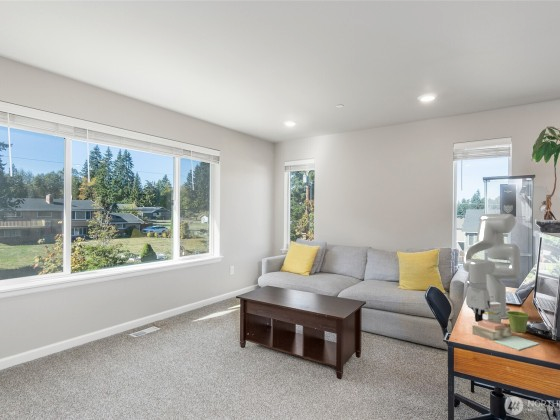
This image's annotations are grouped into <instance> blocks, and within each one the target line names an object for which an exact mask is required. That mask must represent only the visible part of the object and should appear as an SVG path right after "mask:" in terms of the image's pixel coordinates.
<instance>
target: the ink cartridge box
mask: <svg viewBox="0 0 560 420" xmlns="http://www.w3.org/2000/svg"><path fill="white" fill-rule="evenodd" d="M493 298H494V296H490V312H485V313H484V314H483V320H487V319H489V320H493V321H496V322H500V323H502V318H501V303H498V302H495V301H493ZM483 320H482V321H483Z"/></svg>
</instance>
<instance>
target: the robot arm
mask: <svg viewBox="0 0 560 420" xmlns="http://www.w3.org/2000/svg"><path fill="white" fill-rule="evenodd" d="M478 221H479V223H478V229H477V235H476V240H475V242H474V243H472V244H471V245H470V246H469V247H468V248H467V249H466V250H465V253H464V255H463V260H462V261H463V262H462V268H463V270H464V271H465V272H467V273H468V275H469V277H468V278H469V280H468V281H467V285H469V286H468V287H467V289H466V296H465V303H466V306H467V308H469V309H471V310H472V311H473V314H474V321H475V323H478V321H482V320H483V314H484V313H485V312H490V296H494V298H493V301H495V302H498V303H501V320H502V319H509V317H508V315H507V313H506V312H508V311H511V309H510V307H507V294H506V293H507V288H506V284H505V283H504V281H502V279H503V280H511V281H517V280H519V279H520V278H521V272H522V271H521V270H522V269H521V266H522V265H521V249H520V247H519V245H516V244H514V243H505V238H504V237H505V234H506V235H507V234H509V233H511V232H512V231H513V229H515V228H514V227H515V226H516V217H515V215H513V214H512V213H488V214H487V213H486V214H482V215H479V220H478ZM483 251H486V255H487V258H488V259H480V258H473V256H474V255H475V254H478V253H479V252H483ZM489 259H491V260H489ZM493 260H499V261H493ZM501 260H502V261H503V262H502V261H501ZM504 261H508V262H504Z"/></svg>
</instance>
